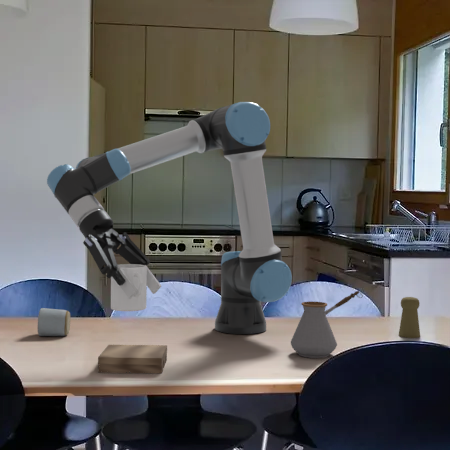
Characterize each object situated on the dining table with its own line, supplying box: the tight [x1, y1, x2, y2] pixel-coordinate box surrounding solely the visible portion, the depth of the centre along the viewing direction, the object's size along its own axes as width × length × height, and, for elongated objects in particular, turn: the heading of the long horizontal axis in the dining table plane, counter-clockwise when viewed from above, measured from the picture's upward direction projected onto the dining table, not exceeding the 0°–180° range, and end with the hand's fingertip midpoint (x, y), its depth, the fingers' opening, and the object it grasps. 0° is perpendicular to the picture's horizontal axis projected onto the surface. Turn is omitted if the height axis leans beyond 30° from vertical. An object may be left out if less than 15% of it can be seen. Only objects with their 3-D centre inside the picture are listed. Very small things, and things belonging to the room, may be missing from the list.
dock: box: [97, 344, 168, 374], centre depth 160 cm, size 14×13×4 cm
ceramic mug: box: [37, 307, 71, 337], centre depth 195 cm, size 11×8×8 cm
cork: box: [398, 296, 421, 339], centre depth 198 cm, size 6×6×11 cm
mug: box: [110, 263, 148, 312], centre depth 158 cm, size 8×12×10 cm, turn 29°
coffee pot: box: [290, 290, 363, 359], centre depth 176 cm, size 21×12×15 cm, turn 123°
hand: (145, 292), depth 157 cm, fingers closed on mug, 8 cm apart
